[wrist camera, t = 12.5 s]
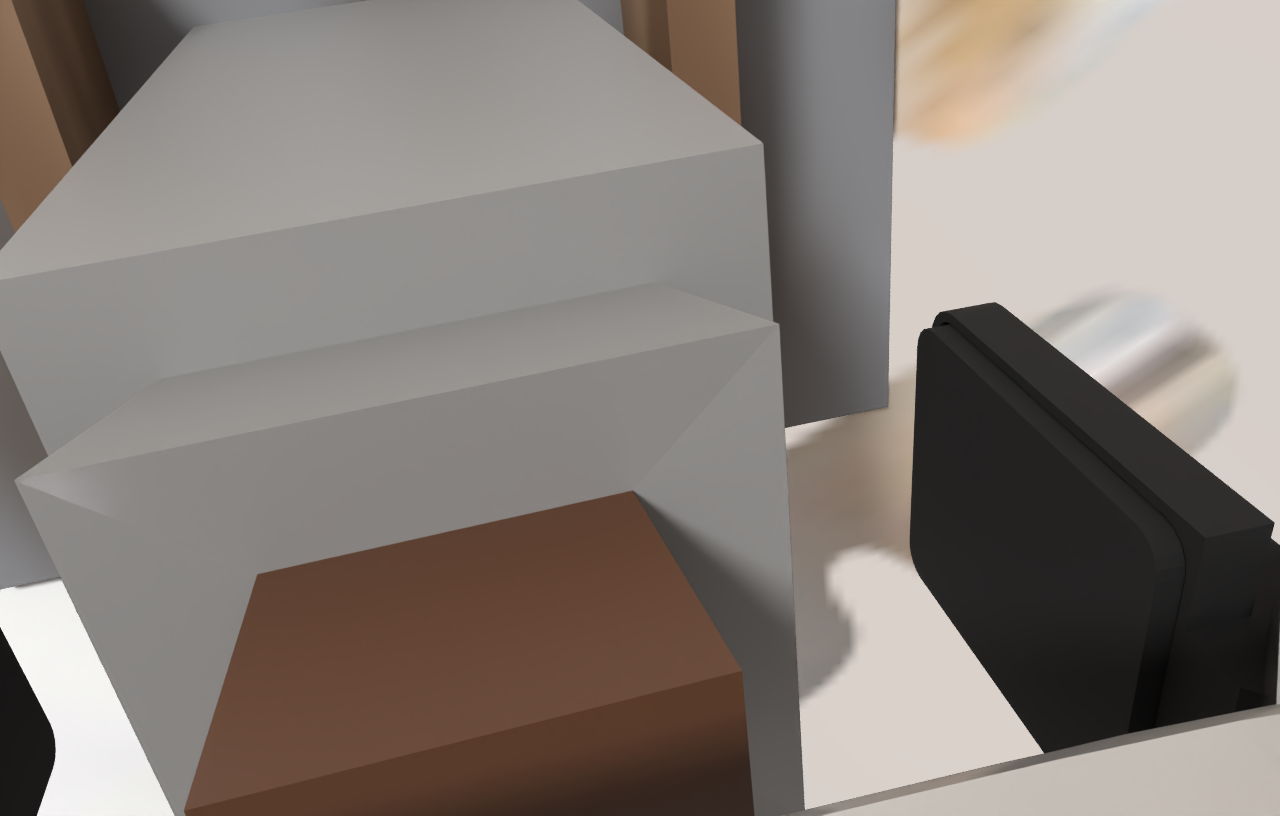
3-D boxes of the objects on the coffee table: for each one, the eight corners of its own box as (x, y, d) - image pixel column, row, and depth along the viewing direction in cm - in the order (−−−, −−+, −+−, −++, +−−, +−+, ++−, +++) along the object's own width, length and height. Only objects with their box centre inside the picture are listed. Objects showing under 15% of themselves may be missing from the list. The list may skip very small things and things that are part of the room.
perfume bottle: (290, 344, 24) (156, 1316, 8) (193, 26, 20) (-342, 647, 5) (589, 287, 25) (977, 1058, 9) (544, -27, 21) (1031, 350, 6)
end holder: (892, -328, 21) (1012, -364, 17) (881, 399, 28) (961, 486, 25) (-387, -205, 17) (-596, -215, 13) (0, 579, 25) (-64, 712, 21)
